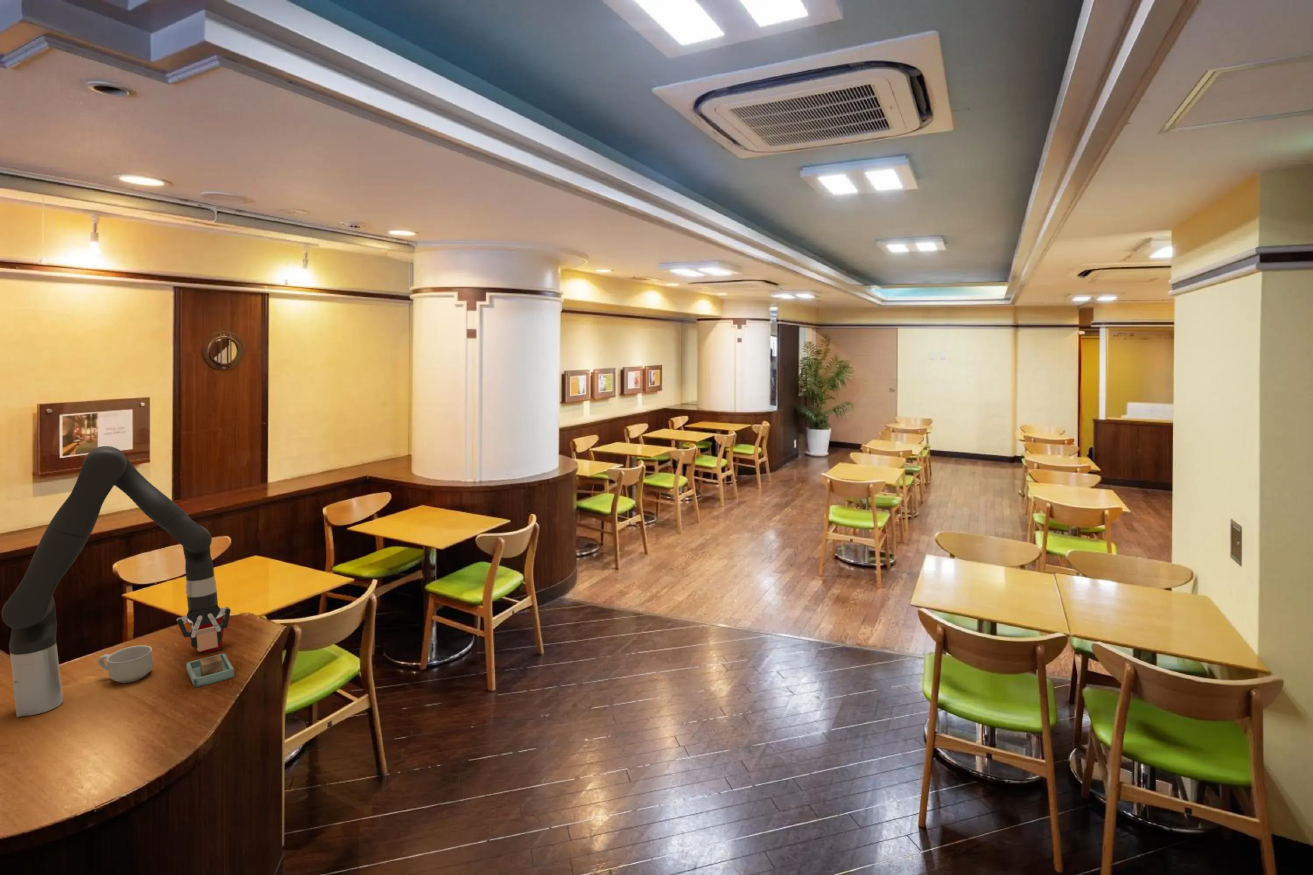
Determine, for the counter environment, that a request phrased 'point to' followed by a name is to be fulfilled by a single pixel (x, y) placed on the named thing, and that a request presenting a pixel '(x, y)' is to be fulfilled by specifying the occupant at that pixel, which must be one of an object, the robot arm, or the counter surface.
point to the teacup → (128, 663)
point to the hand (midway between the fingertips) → (206, 644)
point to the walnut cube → (211, 665)
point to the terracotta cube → (206, 638)
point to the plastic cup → (219, 621)
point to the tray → (198, 681)
